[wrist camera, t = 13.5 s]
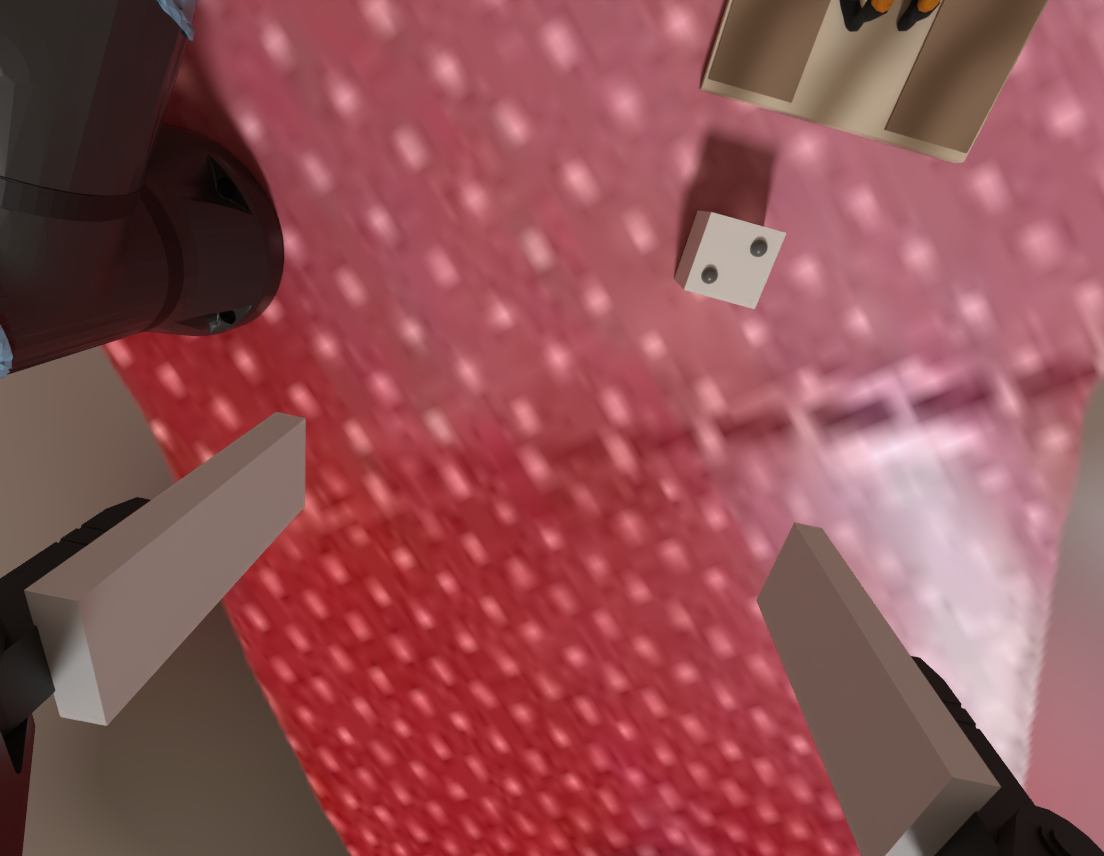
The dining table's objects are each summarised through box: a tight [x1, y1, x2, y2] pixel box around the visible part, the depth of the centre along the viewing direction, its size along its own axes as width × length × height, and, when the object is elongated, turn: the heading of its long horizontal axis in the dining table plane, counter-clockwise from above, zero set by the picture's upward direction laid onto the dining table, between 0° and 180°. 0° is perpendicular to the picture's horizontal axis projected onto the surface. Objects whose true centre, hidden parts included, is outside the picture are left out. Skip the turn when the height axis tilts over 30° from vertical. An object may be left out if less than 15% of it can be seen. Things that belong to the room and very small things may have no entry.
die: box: [674, 210, 786, 309], centre depth 36 cm, size 5×5×6 cm
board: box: [700, 0, 1048, 163], centre depth 32 cm, size 18×13×1 cm
